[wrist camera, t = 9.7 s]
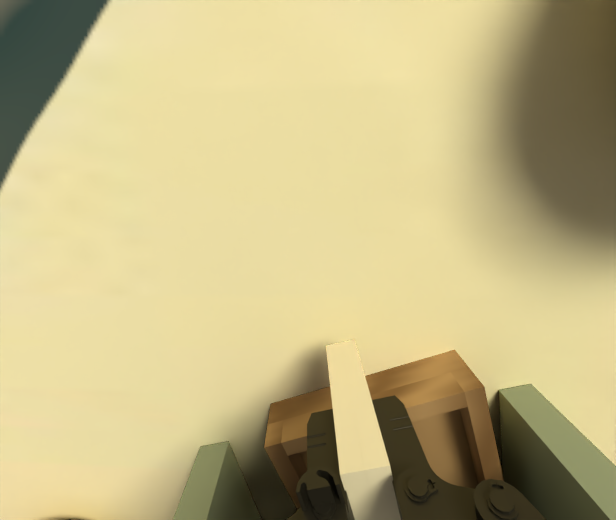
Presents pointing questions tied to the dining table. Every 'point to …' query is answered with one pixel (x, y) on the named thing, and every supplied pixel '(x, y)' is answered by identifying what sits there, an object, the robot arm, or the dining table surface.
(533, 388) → the sage green box
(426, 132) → the dining table surface
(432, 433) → the wooden tray
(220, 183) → the dining table surface
